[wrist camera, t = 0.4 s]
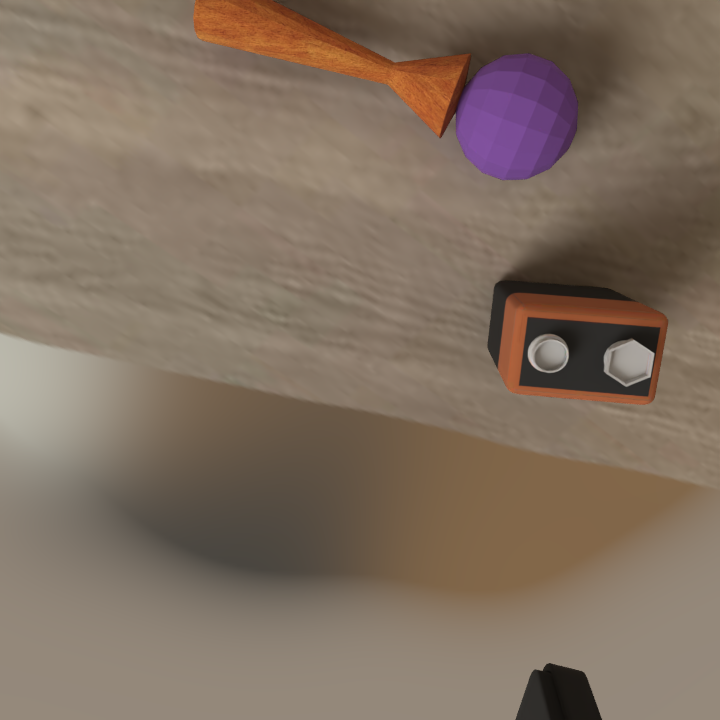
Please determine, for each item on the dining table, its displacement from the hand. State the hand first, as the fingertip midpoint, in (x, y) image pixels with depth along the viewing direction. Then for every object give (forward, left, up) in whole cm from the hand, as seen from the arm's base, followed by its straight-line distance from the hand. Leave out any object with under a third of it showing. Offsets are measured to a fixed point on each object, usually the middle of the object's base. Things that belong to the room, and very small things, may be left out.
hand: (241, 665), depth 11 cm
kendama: (-14, -2, -30) cm, 33 cm away
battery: (-3, +10, -30) cm, 32 cm away
